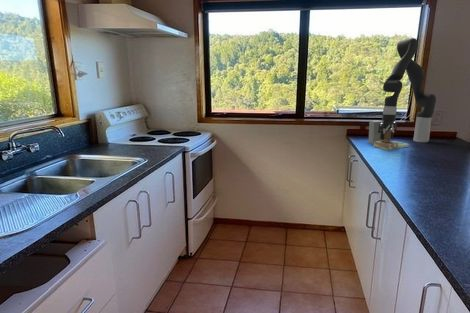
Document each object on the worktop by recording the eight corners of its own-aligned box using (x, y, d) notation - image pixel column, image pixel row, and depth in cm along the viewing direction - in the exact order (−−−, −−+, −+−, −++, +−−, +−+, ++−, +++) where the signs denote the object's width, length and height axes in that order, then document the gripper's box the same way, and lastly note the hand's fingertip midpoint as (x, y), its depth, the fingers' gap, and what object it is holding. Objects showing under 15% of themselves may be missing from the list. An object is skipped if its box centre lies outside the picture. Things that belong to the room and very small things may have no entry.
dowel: (384, 146, 210) (386, 128, 207) (390, 148, 206) (393, 129, 203) (379, 147, 208) (382, 128, 205) (386, 148, 204) (388, 129, 201)
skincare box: (382, 145, 217) (385, 121, 213) (371, 145, 217) (374, 121, 213) (377, 142, 225) (379, 119, 221) (366, 142, 225) (369, 119, 221)
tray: (394, 144, 219) (394, 141, 218) (408, 147, 210) (408, 144, 210) (384, 146, 214) (385, 142, 214) (398, 149, 206) (398, 145, 205)
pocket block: (383, 146, 214) (384, 140, 213) (397, 149, 205) (398, 142, 204) (373, 147, 209) (374, 141, 208) (386, 150, 201) (387, 144, 200)
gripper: (391, 112, 208) (388, 137, 212) (376, 113, 202) (373, 139, 206) (402, 113, 202) (398, 139, 206) (387, 114, 195) (384, 141, 199)
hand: (386, 139), depth 206 cm, fingers open, 8 cm apart
